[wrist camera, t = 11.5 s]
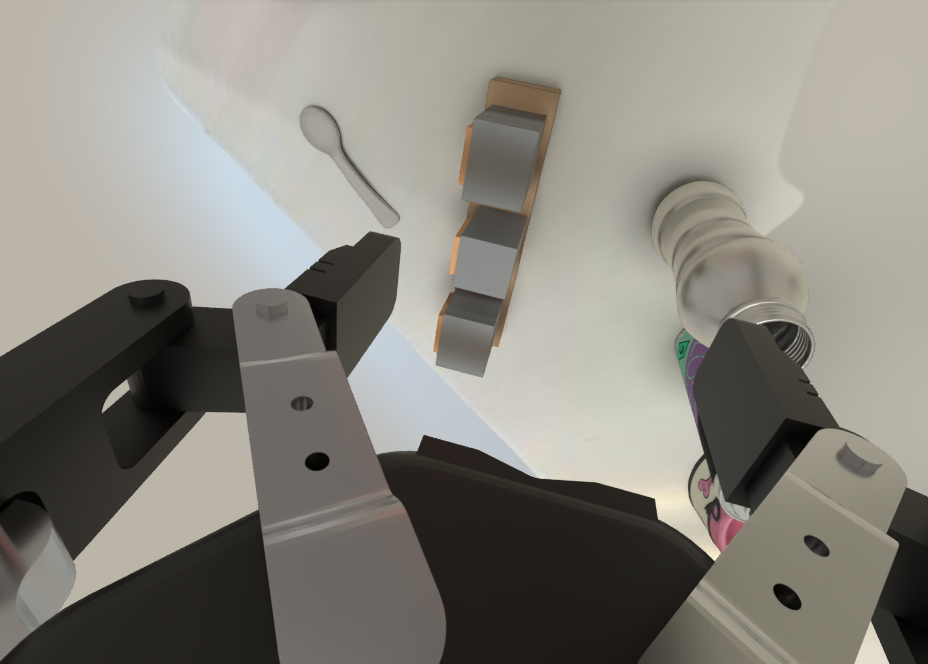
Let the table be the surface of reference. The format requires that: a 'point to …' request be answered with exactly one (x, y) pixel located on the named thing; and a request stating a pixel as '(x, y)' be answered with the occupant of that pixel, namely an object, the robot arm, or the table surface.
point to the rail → (495, 207)
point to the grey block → (487, 251)
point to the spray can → (689, 361)
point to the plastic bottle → (730, 269)
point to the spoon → (343, 161)
